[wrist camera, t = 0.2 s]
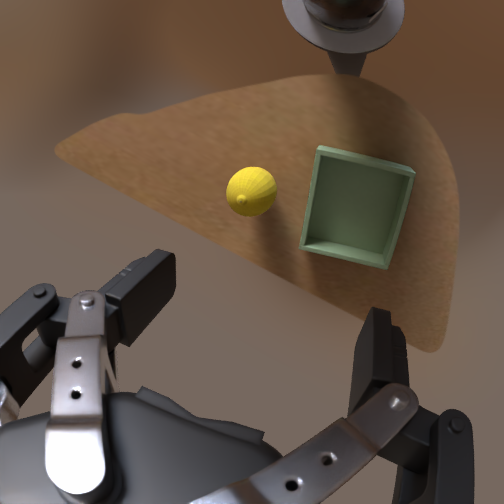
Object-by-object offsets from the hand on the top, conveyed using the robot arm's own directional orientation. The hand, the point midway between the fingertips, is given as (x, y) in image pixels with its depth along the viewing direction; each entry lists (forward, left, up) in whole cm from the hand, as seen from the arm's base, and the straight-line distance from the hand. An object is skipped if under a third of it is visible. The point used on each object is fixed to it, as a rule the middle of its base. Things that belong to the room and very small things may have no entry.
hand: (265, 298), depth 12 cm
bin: (+4, +5, -28) cm, 29 cm away
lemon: (+4, -7, -28) cm, 29 cm away
